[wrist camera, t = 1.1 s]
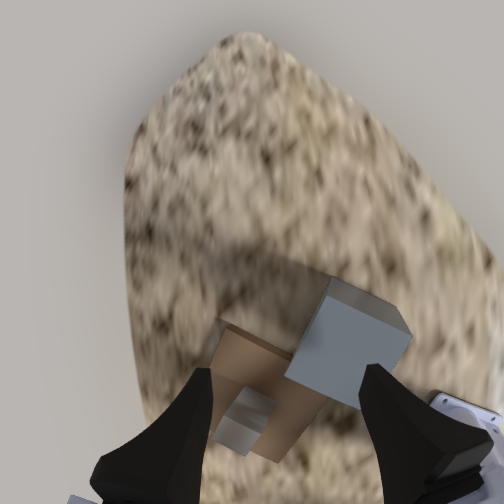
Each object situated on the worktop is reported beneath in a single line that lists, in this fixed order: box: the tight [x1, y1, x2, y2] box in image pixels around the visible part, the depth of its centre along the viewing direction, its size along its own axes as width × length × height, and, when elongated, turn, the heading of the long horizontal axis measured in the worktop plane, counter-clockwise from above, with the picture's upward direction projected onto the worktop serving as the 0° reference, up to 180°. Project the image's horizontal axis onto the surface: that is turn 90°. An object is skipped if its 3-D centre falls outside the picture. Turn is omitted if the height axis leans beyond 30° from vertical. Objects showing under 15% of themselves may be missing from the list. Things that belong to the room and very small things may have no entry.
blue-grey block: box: [284, 276, 413, 410], centre depth 19 cm, size 6×6×7 cm
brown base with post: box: [209, 324, 328, 463], centre depth 22 cm, size 10×11×6 cm
